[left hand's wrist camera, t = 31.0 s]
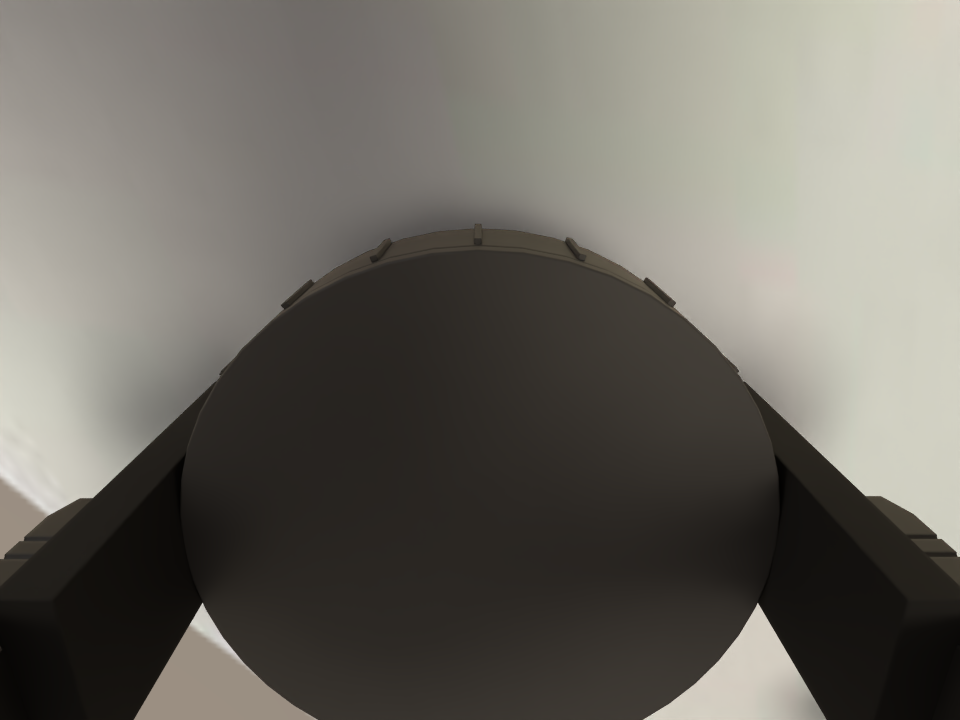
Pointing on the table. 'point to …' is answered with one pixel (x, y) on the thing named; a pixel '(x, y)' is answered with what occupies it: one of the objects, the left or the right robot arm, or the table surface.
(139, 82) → the table surface
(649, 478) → the lid
